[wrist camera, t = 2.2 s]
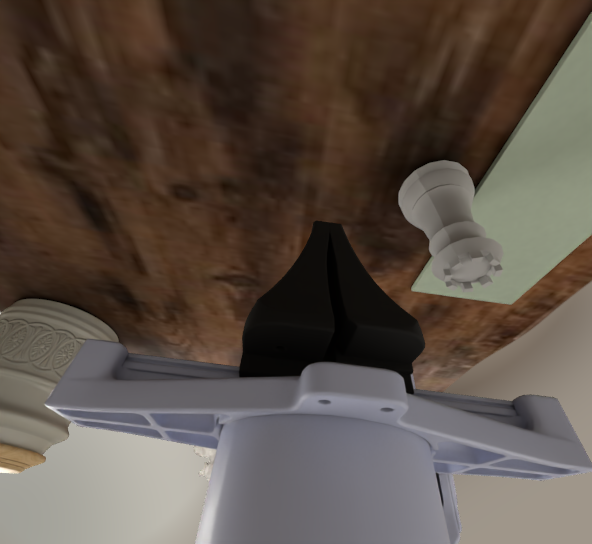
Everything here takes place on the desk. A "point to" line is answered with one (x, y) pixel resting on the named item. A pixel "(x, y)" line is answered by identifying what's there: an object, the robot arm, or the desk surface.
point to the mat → (537, 183)
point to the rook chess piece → (450, 225)
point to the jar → (37, 375)
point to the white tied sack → (211, 456)
